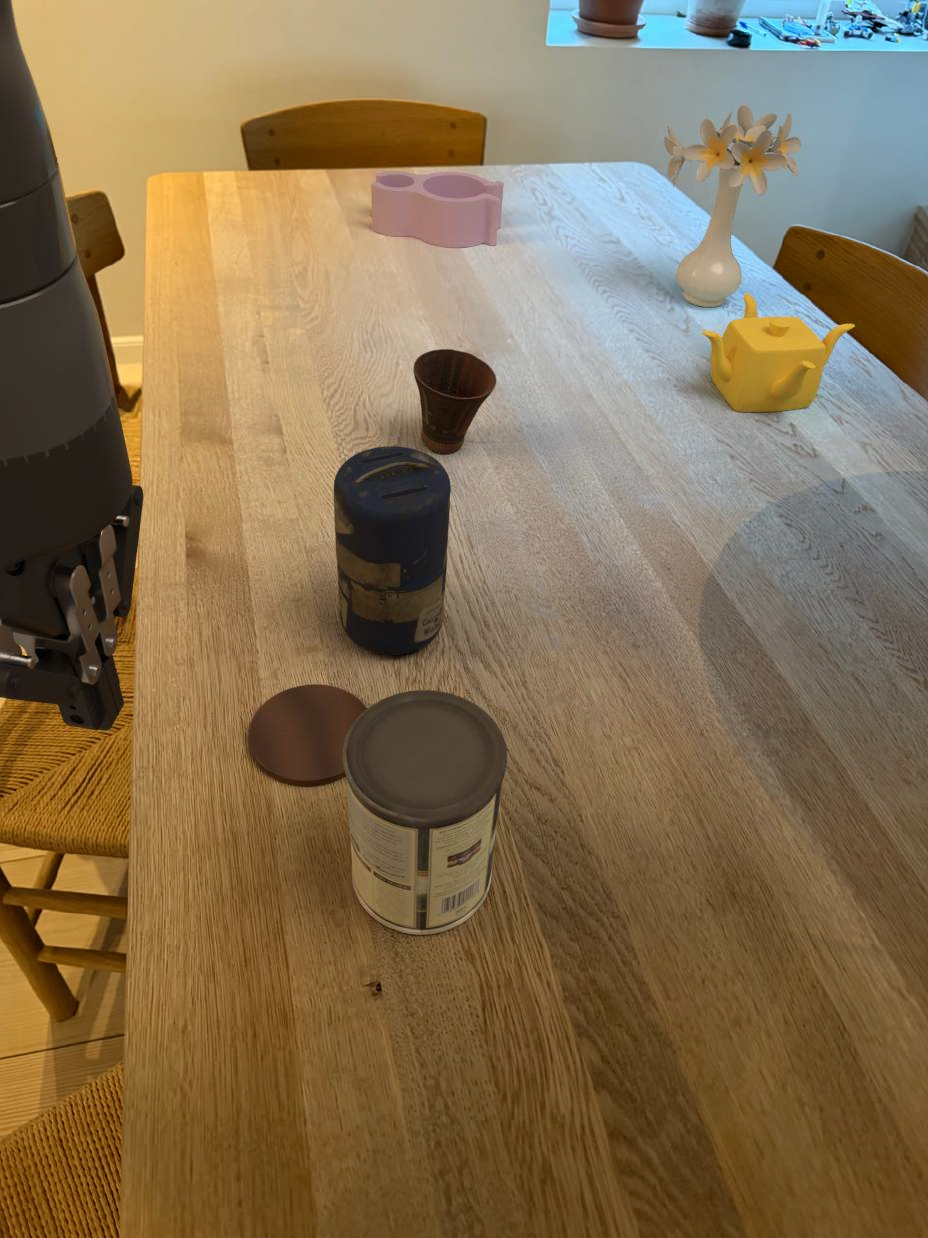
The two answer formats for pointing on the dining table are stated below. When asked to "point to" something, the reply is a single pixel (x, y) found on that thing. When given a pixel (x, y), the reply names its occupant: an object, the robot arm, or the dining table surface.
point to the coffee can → (423, 808)
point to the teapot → (769, 361)
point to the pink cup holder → (437, 207)
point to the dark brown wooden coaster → (304, 734)
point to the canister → (391, 547)
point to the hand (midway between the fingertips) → (96, 716)
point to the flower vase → (727, 194)
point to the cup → (450, 395)
